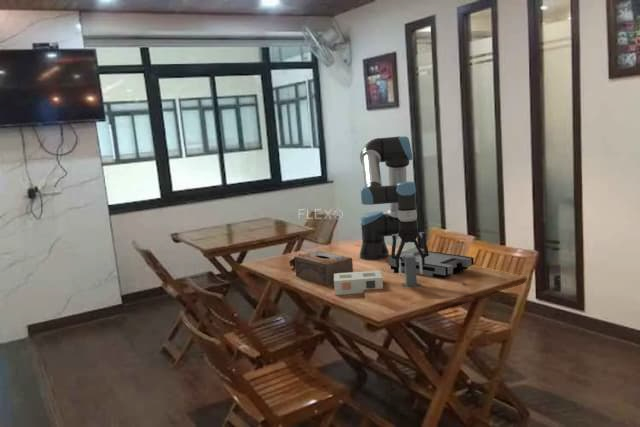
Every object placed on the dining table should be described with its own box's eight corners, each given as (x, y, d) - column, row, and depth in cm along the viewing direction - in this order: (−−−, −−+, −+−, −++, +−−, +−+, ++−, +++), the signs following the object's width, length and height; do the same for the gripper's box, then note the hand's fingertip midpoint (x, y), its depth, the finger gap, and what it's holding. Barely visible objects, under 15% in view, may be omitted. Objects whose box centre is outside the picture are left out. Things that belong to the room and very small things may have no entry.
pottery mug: (303, 272, 273) (293, 258, 273) (293, 278, 280) (284, 264, 280) (318, 261, 281) (309, 247, 281) (308, 266, 288) (299, 253, 288)
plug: (405, 283, 233) (404, 253, 231) (415, 283, 233) (413, 252, 231) (407, 286, 229) (405, 255, 227) (416, 285, 229) (415, 255, 227)
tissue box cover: (353, 279, 253) (352, 257, 252) (328, 286, 245) (326, 264, 243) (320, 270, 274) (318, 250, 272) (296, 276, 266) (294, 256, 264)
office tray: (446, 283, 235) (445, 265, 234) (389, 273, 259) (388, 255, 258) (474, 272, 248) (473, 254, 247) (417, 263, 272) (416, 247, 271)
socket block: (334, 286, 242) (333, 273, 242) (380, 283, 242) (379, 270, 241) (334, 295, 230) (333, 281, 229) (383, 291, 230) (382, 277, 229)
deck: (400, 286, 235) (400, 282, 235) (419, 284, 235) (419, 281, 235) (403, 291, 228) (402, 288, 227) (422, 290, 227) (422, 286, 227)
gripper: (383, 223, 224) (386, 278, 227) (435, 219, 223) (437, 274, 226) (381, 220, 231) (384, 273, 235) (431, 216, 230) (434, 269, 234)
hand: (410, 273), depth 230 cm, fingers open, 8 cm apart
